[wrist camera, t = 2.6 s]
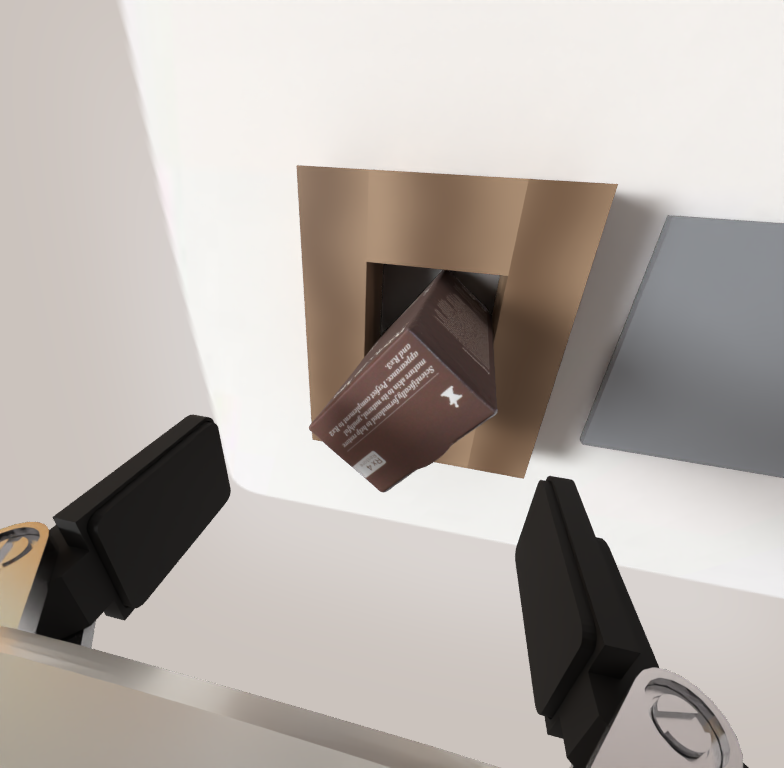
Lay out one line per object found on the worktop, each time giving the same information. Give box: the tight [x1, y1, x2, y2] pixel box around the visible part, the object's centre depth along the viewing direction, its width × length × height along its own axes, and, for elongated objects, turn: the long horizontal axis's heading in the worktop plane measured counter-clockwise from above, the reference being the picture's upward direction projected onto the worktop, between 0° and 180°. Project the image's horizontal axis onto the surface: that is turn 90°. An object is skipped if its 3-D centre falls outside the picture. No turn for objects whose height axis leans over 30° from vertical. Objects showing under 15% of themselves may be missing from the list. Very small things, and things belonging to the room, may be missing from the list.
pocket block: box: [297, 165, 618, 479], centre depth 21 cm, size 14×16×4 cm
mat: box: [580, 215, 784, 478], centre depth 20 cm, size 12×14×1 cm
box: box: [309, 269, 498, 492], centre depth 17 cm, size 6×4×12 cm
